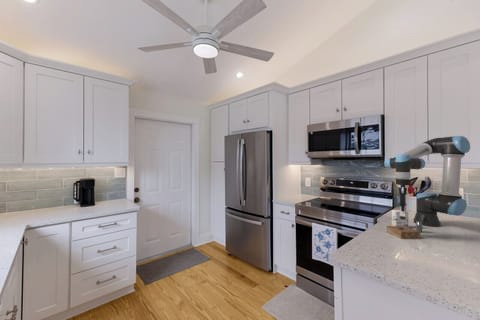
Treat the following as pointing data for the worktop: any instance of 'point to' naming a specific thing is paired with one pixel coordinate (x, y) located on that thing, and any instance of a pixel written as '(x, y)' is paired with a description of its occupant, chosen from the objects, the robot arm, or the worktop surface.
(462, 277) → the worktop surface
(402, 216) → the long pin
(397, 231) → the hole block
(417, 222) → the short pin
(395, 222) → the ink box
